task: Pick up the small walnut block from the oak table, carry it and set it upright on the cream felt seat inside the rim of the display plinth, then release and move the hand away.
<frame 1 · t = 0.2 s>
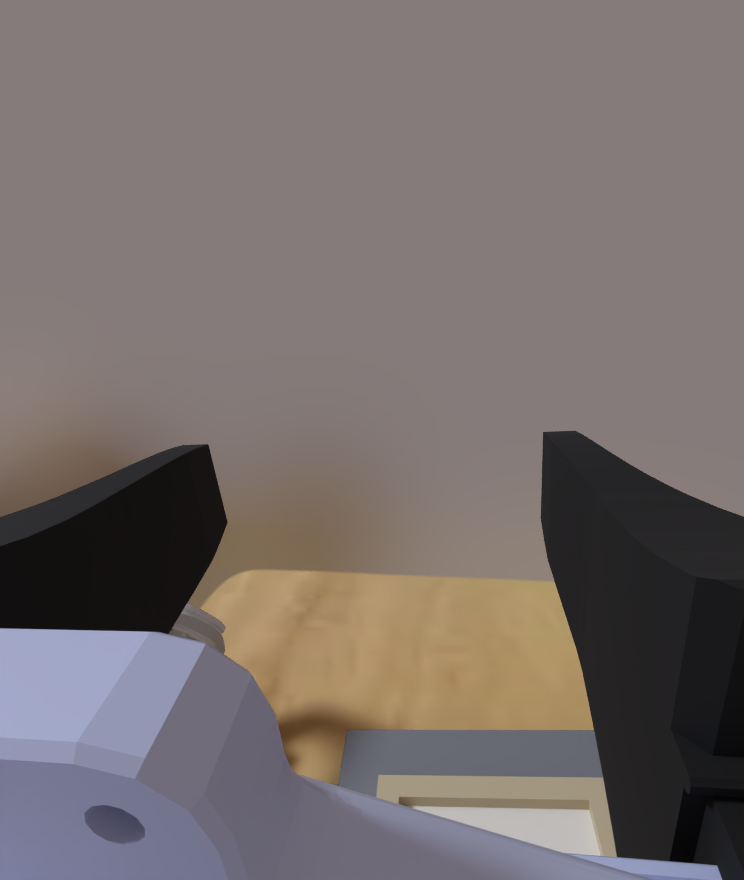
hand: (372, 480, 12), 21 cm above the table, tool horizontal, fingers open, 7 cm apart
watch: (186, 775, 30), on the table
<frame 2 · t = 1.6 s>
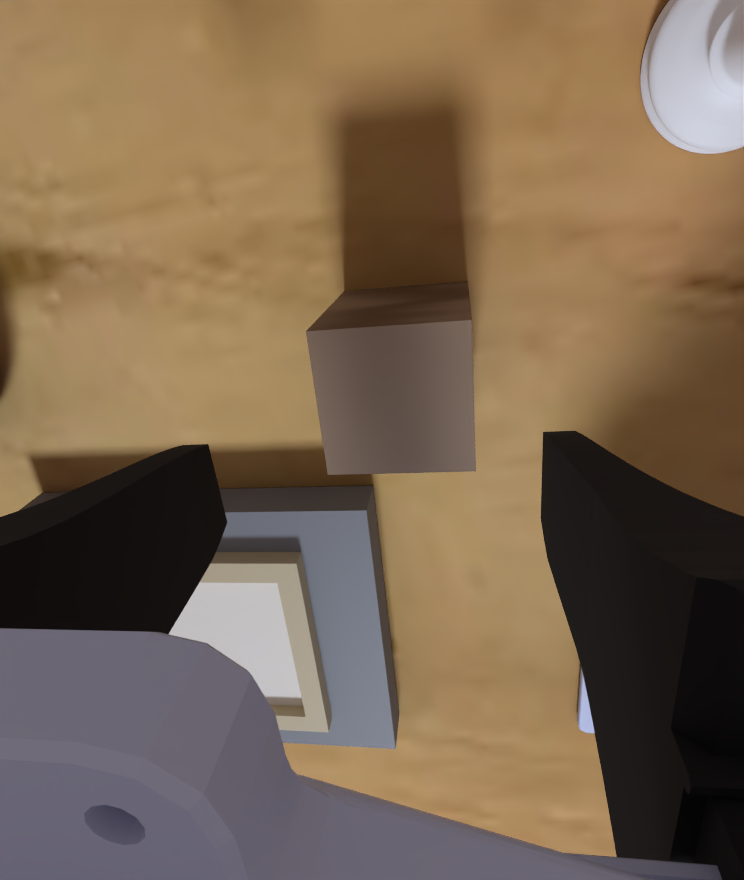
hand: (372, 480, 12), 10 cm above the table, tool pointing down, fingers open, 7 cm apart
chess piece: (726, 60, 17), on the table
display plinth: (230, 609, 28), on the table
walnut block: (409, 346, 21), on the table
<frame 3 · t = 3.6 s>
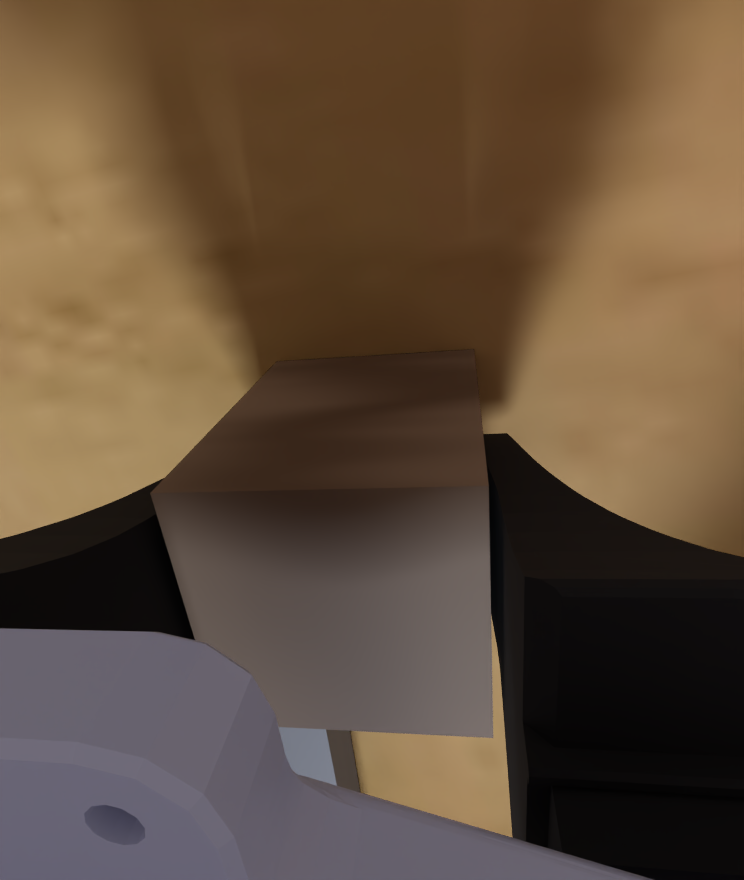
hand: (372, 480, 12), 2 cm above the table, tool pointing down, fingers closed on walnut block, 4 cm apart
display plinth: (145, 775, 21), on the table
walnut block: (381, 445, 14), on the table, touching gripper
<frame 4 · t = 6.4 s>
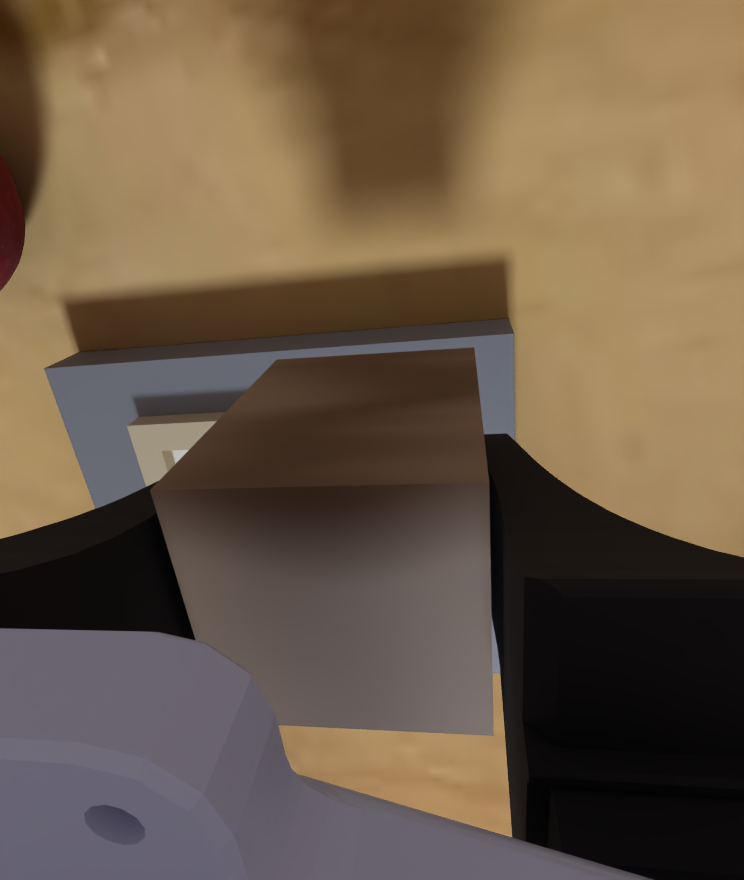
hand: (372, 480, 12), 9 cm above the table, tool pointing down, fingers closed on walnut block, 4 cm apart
display plinth: (309, 504, 23), on the table
walnut block: (381, 443, 14), point 7 cm above the table, touching gripper
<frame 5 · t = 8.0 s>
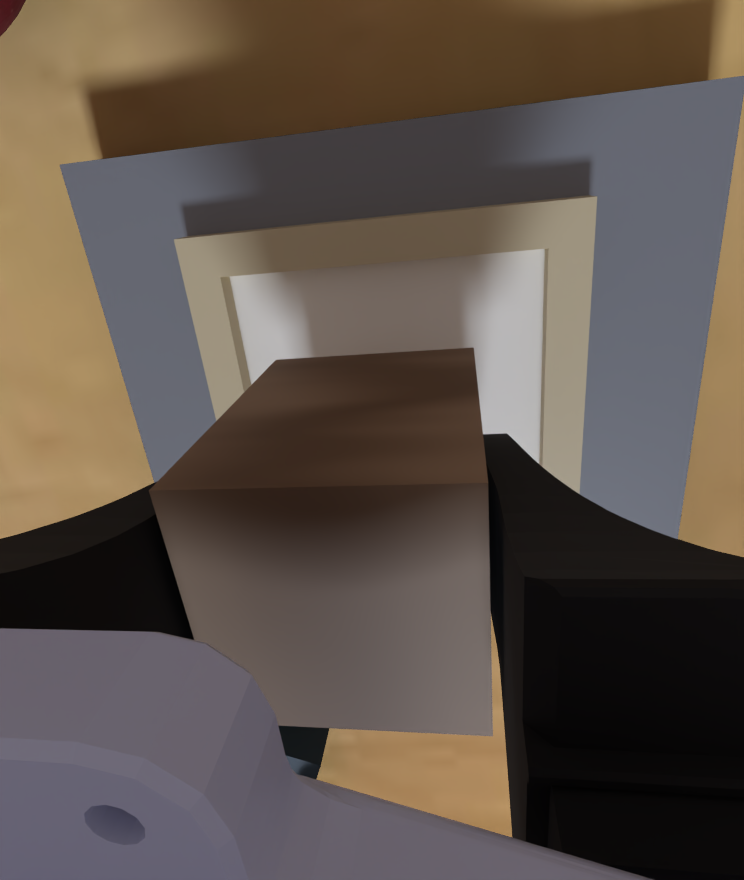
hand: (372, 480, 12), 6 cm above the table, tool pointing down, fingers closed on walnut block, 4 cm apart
display plinth: (400, 382, 18), on the table
watch: (276, 720, 26), on the table
walnut block: (381, 444, 14), point 5 cm above the table, touching gripper
when the fingers open (5 cm above the table, at t = 9.4 s): walnut block drops 1 cm, resting on display plinth.
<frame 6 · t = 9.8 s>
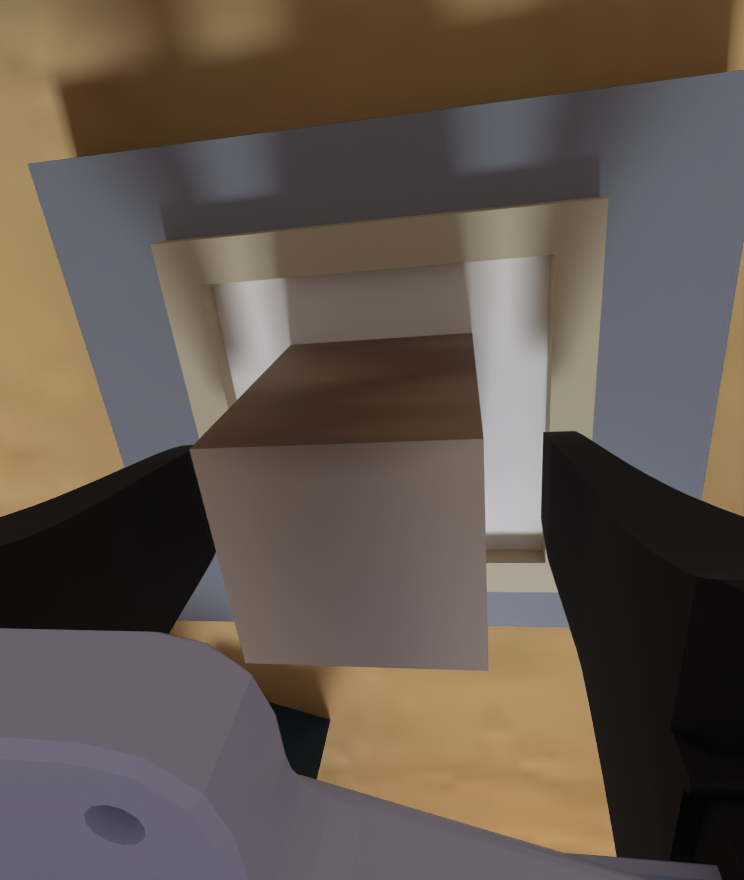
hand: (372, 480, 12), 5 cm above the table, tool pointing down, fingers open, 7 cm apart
display plinth: (395, 394, 17), on the table
watch: (268, 742, 25), on the table
walnut block: (387, 423, 15), point 2 cm above the table, touching display plinth
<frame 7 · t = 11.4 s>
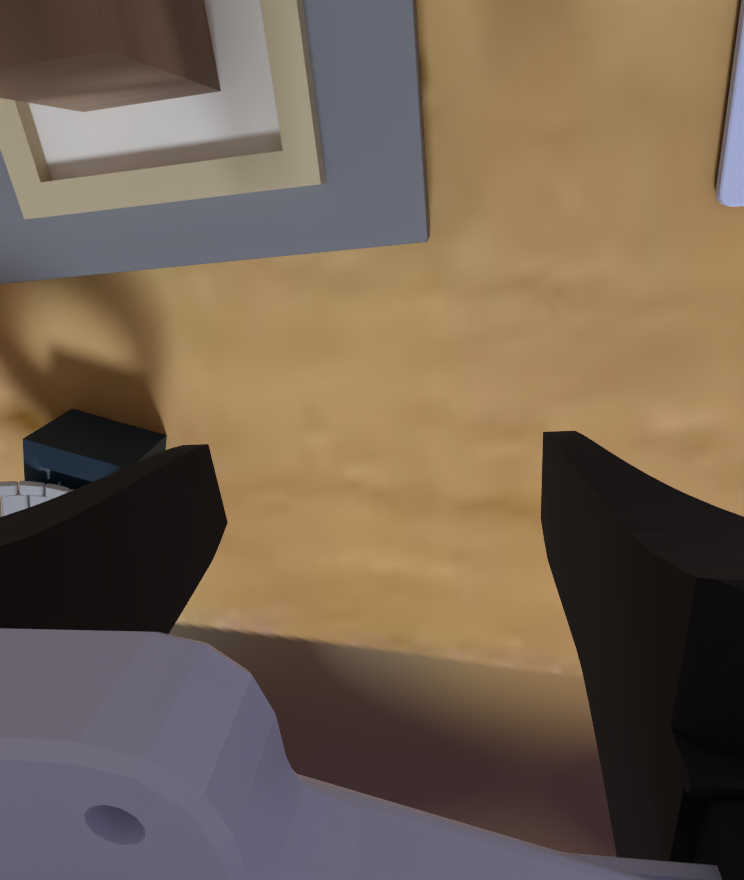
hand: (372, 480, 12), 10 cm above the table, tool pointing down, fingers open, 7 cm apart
display plinth: (165, 30, 18), on the table
watch: (117, 473, 26), on the table
walnut block: (129, 10, 16), point 2 cm above the table, touching display plinth
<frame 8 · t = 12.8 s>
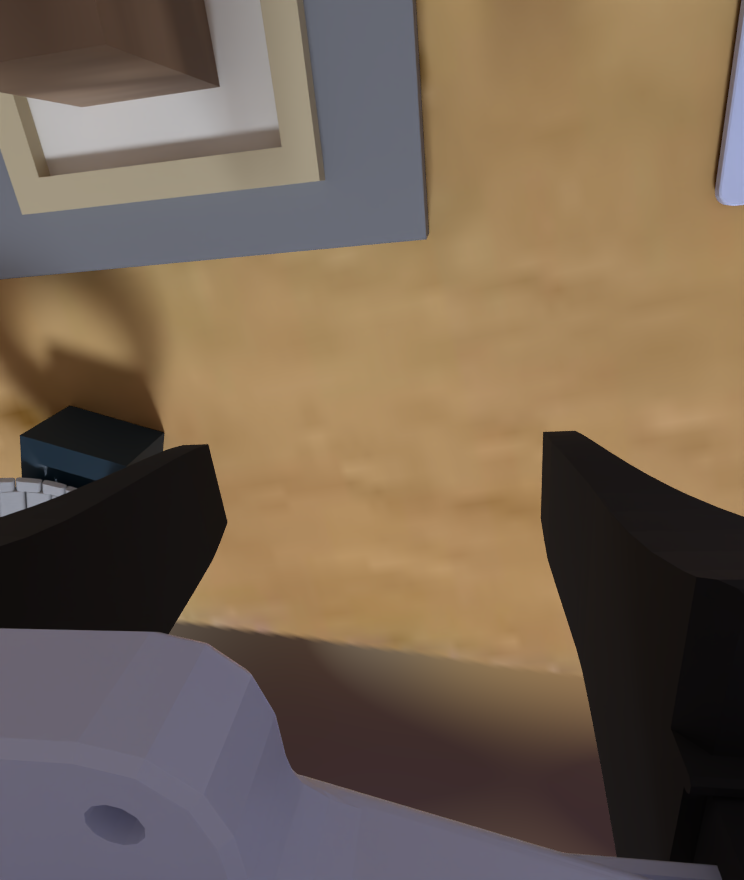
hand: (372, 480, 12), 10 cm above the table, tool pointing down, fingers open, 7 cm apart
display plinth: (165, 25, 18), on the table
watch: (114, 470, 26), on the table
walnut block: (128, 5, 16), point 2 cm above the table, touching display plinth
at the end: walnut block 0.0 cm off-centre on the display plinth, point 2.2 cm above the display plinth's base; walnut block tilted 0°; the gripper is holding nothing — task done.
